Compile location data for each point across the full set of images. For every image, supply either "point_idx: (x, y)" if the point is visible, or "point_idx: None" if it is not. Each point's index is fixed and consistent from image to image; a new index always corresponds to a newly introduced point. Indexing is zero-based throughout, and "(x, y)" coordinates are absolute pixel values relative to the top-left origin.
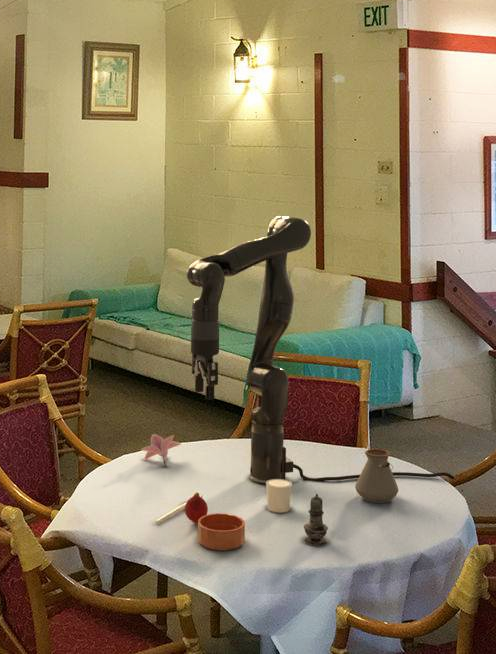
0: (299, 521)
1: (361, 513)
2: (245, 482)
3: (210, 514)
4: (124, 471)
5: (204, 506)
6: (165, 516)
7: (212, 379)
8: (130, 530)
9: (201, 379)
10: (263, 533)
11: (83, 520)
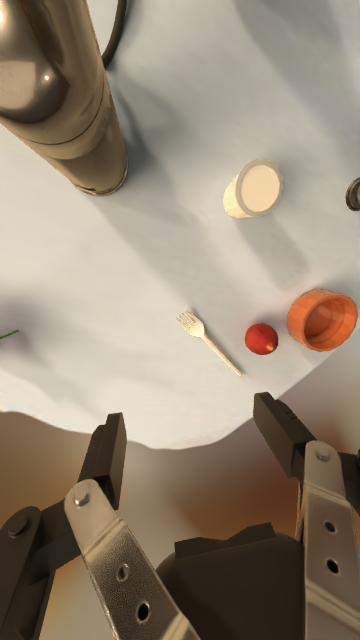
0: (293, 186)
1: (305, 39)
2: (110, 211)
3: (302, 331)
4: (40, 389)
5: (276, 333)
6: (233, 365)
7: (323, 487)
8: (246, 399)
9: (112, 478)
10: (309, 257)
11: (207, 438)
